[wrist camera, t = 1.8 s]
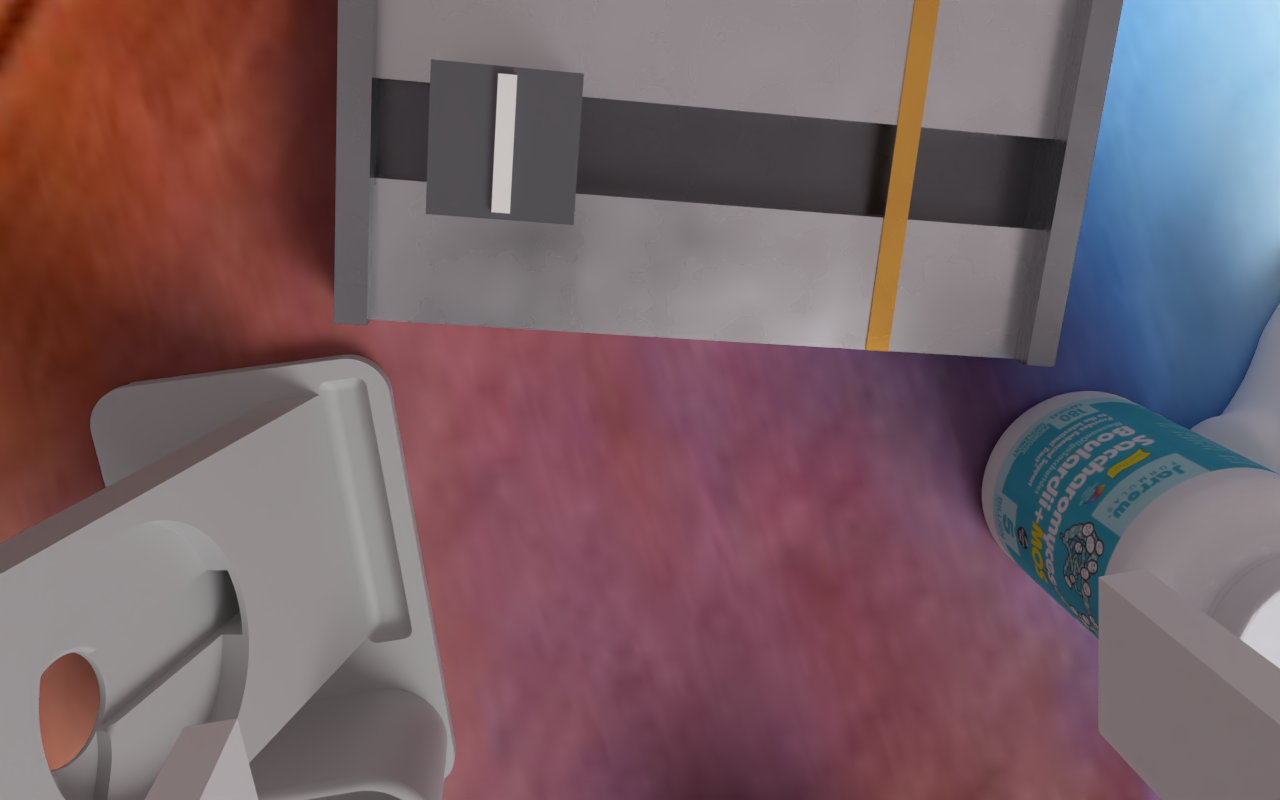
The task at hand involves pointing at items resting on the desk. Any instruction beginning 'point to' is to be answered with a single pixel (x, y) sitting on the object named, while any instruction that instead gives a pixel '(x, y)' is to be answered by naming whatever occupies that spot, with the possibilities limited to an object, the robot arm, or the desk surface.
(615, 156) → the console
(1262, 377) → the figurine
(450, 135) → the block
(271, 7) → the desk surface
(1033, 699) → the desk surface
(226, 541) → the phone holder
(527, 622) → the desk surface
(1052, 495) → the pill bottle
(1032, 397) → the desk surface
